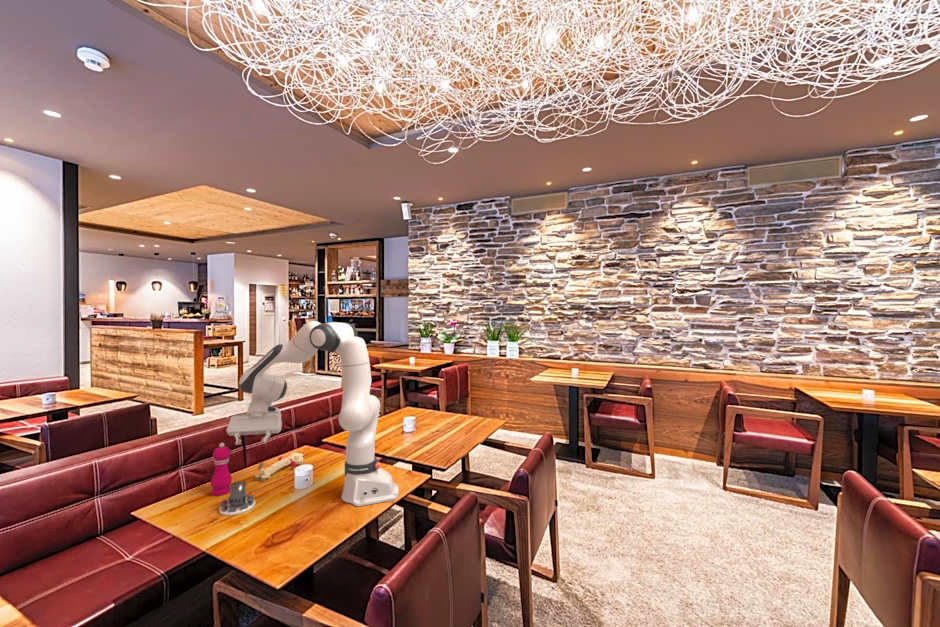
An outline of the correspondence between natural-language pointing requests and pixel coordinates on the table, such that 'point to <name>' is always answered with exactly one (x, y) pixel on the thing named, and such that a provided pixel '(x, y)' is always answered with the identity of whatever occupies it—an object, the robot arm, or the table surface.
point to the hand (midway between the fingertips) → (250, 443)
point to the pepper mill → (221, 471)
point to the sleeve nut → (237, 493)
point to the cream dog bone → (279, 466)
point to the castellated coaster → (233, 510)
